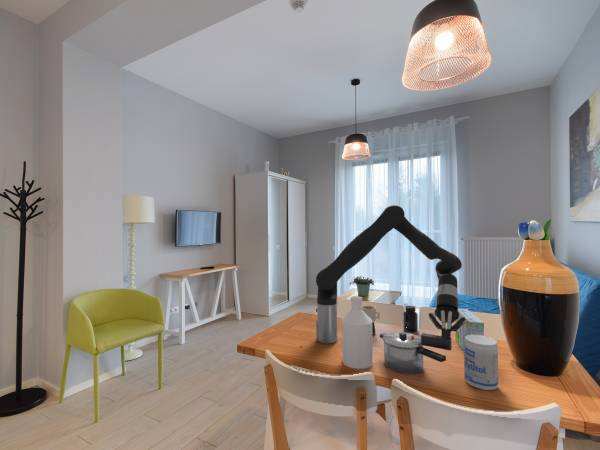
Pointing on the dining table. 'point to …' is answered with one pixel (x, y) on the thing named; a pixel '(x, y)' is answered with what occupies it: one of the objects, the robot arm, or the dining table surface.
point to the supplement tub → (481, 362)
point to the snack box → (468, 326)
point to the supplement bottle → (410, 319)
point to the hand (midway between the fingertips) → (446, 340)
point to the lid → (417, 340)
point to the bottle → (357, 337)
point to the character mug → (371, 314)
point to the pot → (407, 358)
